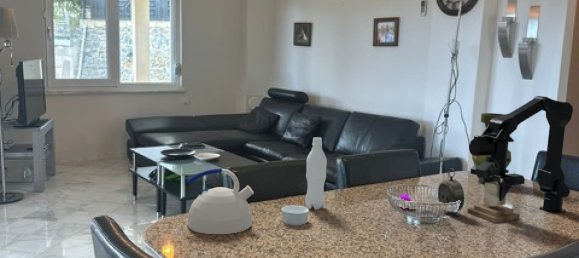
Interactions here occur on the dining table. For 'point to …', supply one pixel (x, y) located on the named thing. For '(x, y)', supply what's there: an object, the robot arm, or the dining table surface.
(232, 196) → the kettle
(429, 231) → the dining table surface
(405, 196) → the crystal
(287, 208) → the ramekin
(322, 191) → the water bottle
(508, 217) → the plinth
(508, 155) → the vase
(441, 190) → the alarm clock
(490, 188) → the block
